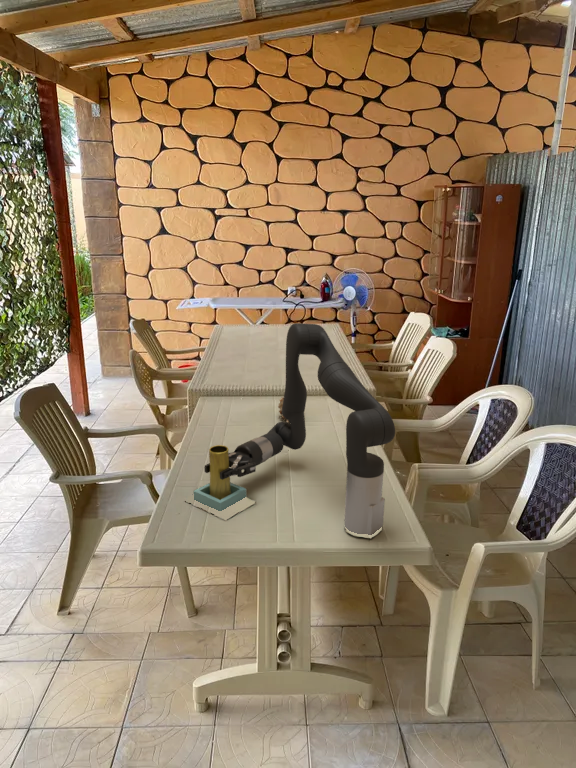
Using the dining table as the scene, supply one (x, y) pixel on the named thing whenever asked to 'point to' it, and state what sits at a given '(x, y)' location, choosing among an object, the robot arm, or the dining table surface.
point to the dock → (206, 499)
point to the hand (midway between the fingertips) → (213, 472)
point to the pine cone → (281, 407)
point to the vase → (218, 464)
